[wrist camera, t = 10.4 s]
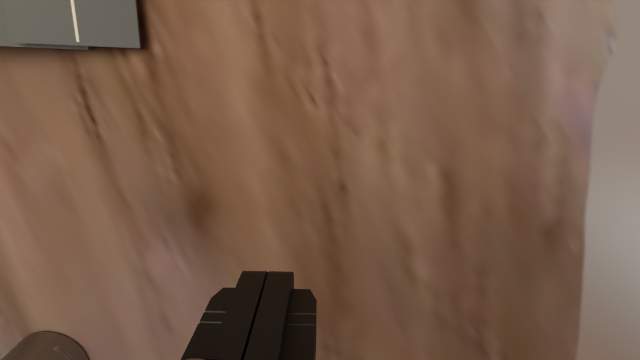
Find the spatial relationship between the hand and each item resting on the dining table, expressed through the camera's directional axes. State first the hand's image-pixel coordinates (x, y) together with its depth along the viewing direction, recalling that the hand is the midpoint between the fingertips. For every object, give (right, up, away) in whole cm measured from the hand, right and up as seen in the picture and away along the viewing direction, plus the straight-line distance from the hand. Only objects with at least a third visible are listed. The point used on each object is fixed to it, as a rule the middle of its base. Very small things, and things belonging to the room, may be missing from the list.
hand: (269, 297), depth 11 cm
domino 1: (-15, +19, +24) cm, 34 cm away
